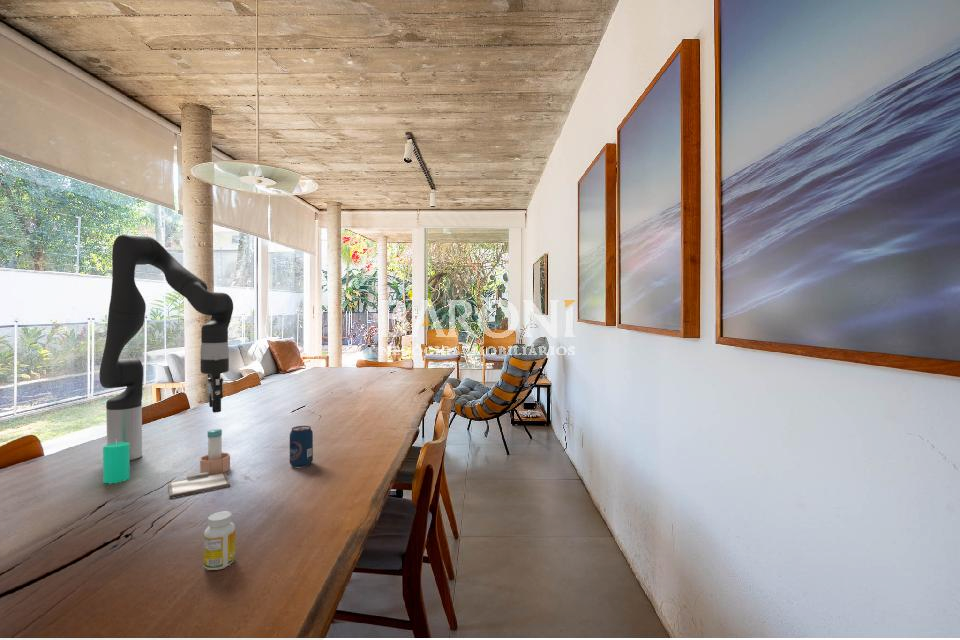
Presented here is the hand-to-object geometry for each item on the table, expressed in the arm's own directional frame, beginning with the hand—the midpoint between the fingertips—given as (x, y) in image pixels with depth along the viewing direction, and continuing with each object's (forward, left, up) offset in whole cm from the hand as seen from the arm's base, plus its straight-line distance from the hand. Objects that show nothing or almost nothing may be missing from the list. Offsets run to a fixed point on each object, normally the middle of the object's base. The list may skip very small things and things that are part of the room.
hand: (215, 409), depth 137 cm
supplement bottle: (+59, -5, -19) cm, 62 cm away
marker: (0, 0, -19) cm, 19 cm away
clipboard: (+11, -5, -19) cm, 23 cm away
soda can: (+10, +23, -19) cm, 32 cm away
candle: (-8, -24, -19) cm, 32 cm away
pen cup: (0, 0, -19) cm, 19 cm away
